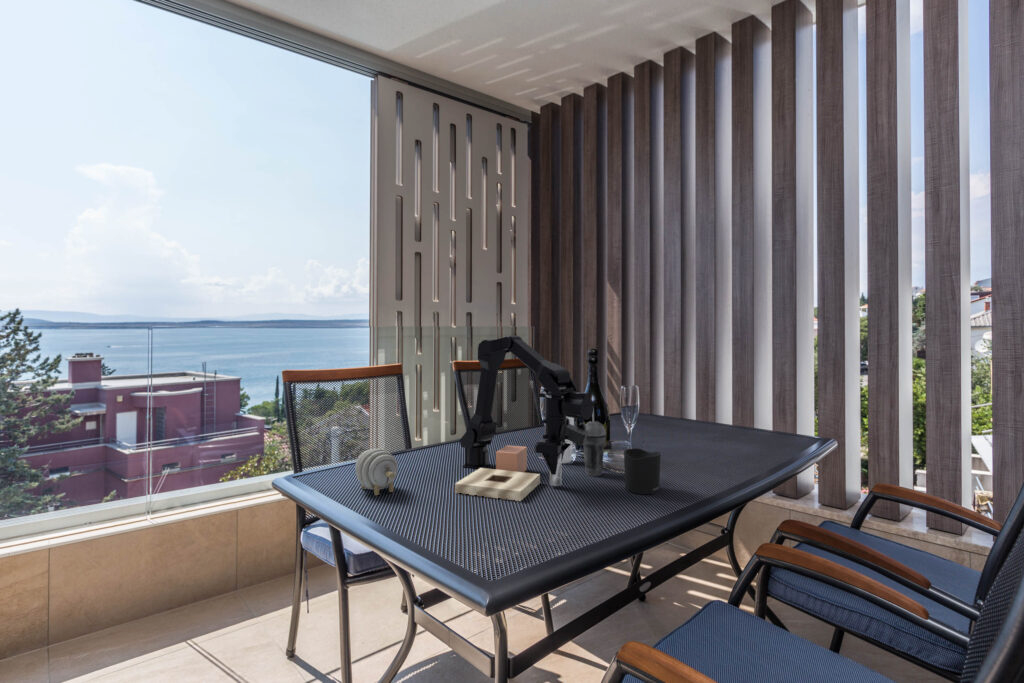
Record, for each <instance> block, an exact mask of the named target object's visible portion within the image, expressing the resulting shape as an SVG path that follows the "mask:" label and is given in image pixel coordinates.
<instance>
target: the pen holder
mask: <svg viewBox="0 0 1024 683" xmlns="http://www.w3.org/2000/svg"><path fill="white" fill-rule="evenodd" d="M661 458H662V457H661V452H660V451H655V452H650V451H646V450H644V449H642V448H627V449H625V450H624V451H623V462H624V469H623V471H624V487H625V489H627V490H628V491H627V490H626V491H627V492H629V491H630V492H629V493H631V492H633V493H632V494H635V493H638V494H637V495H642V494H650V495H654V493H655V494H656V492H657V493H658V492H659V490H660V476H661Z"/></svg>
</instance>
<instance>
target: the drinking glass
mask: <svg viewBox="0 0 1024 683" xmlns="http://www.w3.org/2000/svg"><path fill="white" fill-rule="evenodd" d="M567 418H568V419H569V423H570V424H571V425H573V426H574V425H575V418H572V417H567ZM565 441H566V443H567V444H571V445H570V446H569V447H568V448H567V449H566V450H565V451H564V455H563V459H562V464H569V463H571V462H572V454H573V453H572V451H573V444H574V442H571V441H570V440H567V439H565Z"/></svg>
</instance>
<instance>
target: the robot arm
mask: <svg viewBox="0 0 1024 683" xmlns="http://www.w3.org/2000/svg"><path fill="white" fill-rule="evenodd" d="M508 353H511V354H512V355H513V356H514V357H516V358H517V359H519V361H521V363H523V364H524V365H525V366H526V367H528V368H529V369H530V370H531V371H532V372H533V373H534V374H535V376H536V379H537V381H538V382H539V384H540V385H541V387H543V388H544V389H543V390H542V391H540V393H538V397H539V398H543V399H544V407H545V408H544V409H545V412H544V418H543V419H542V424H544V426H545V427H544V434H542V438H540V440H538V441H537V442H535V444H534V447H533V448H534V450H533V451H534V453H536V454H541V455H542V457H543V459H544V461H545V462H546V465H547V466H548V467H547V468H548V470H549V473H550V472H551V474H552V475H555V474H556V471H557V465H558V458H559V455H560V454H561V453H562V459H563V455H564V451H565V450H566V449H567V448H568V447H569V446H570V445H571V444H567V443H566V441H565V439H567V440H570V441H571V442H573V444H575V445H577V446H580V447H581V446H583V444H584V443H585V440H586V438H587V436H588V431H587V430H586V425H585V424H584V423H582V422H581V423H579V424H578V425H575V424H574V426H573V425H571V424H570V423H569V419H568V418H567V417H572V418H574V419H578V420H579V419H580V420H585V421H587V420H589V419H590V418H592V413H593V409H594V410H595V408H594V407H595V406H594V404H593V401H592V399H591V398H590V396H589V395H590V394H589V392H579V390H578V388H577V387H576V384H575V383H574V381H573V380H572V378H571V373H570V371H569V370H568V369H566V368H565V367H563V366H561V365H559V364H557V363H555V362H551V361H549V360H548V359H546V358H545V357H543V356H542V355H541V354H540V353H539V352H537V351H536V350H535V349H534V348H533V347H531V346H530V345H529V344H528V343H527V342H525V341H524V340H523V339H522V337H520V336H519V335H506V336H505V337H500V338H497V339H482V340H481V341H480V342H479V343H478V346H477V360H478V362H479V365H480V375H479V382H478V390H477V398H476V403H475V409H474V410H475V412H474V414H473V415H472V417H471V418H470V419H469V421H468V425H467V428H466V431H465V433H464V434H463V435H462V437H461V438H460V439H459V444H460V447H462V448H464V463H463V464H462V467H464V468H472V469H479V468H486V466H488V465H490V460H489V459H490V458H489V454H490V452H489V449H488V446H490V445H492V443H493V442H492V441H493V438H494V437H495V435H496V434H497V425H498V423H497V421H494V418H493V415H492V412H493V404H494V398H495V391H496V383H497V377H498V376H497V375H498V371H499V369H500V367H501V366H502V364H503V363H504V362H505V358H506V355H507V354H508Z"/></svg>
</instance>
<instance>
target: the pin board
mask: <svg viewBox="0 0 1024 683" xmlns="http://www.w3.org/2000/svg"><path fill="white" fill-rule="evenodd" d="M540 483H541V473H535V472H534V473H533V472H526V471H525V472H516V471H506V470H497V469H496V468H495V469H493V468H487V467H483V468H477V469H476V470H474V471H473V472H471V473H469V474H468V475H466V476H465V477H463V478H461V479H460V480H458V481H457V482H455V483H454V493H455V494H459V493H462V494H461V495H466V494H469V496H474V495H477V496H476V497H482V496H484V497H485V498H490V497H491V499H498V498H501V499H500V500H506V499H507V500H506V501H508V500H509V501H513V500H515V502H521V501H523V499H524V498H526V497H527V496H528V495H529V494H530V493H531V492H532V491H533V490H534V489H536V488H537V486H539V485H540ZM484 497H483V498H484Z"/></svg>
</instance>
